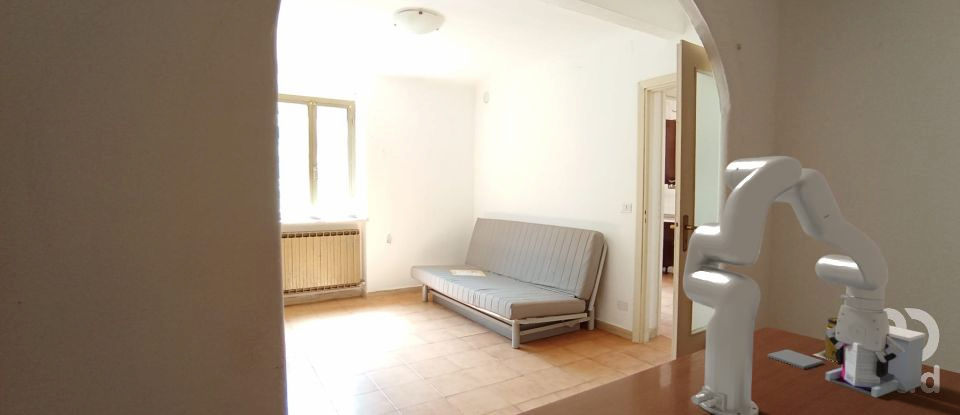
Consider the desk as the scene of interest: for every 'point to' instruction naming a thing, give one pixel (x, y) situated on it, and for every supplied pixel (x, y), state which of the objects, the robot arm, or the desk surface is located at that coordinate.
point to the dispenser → (898, 364)
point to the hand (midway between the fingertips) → (860, 369)
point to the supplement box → (859, 367)
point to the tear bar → (850, 387)
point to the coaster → (795, 358)
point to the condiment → (829, 344)
